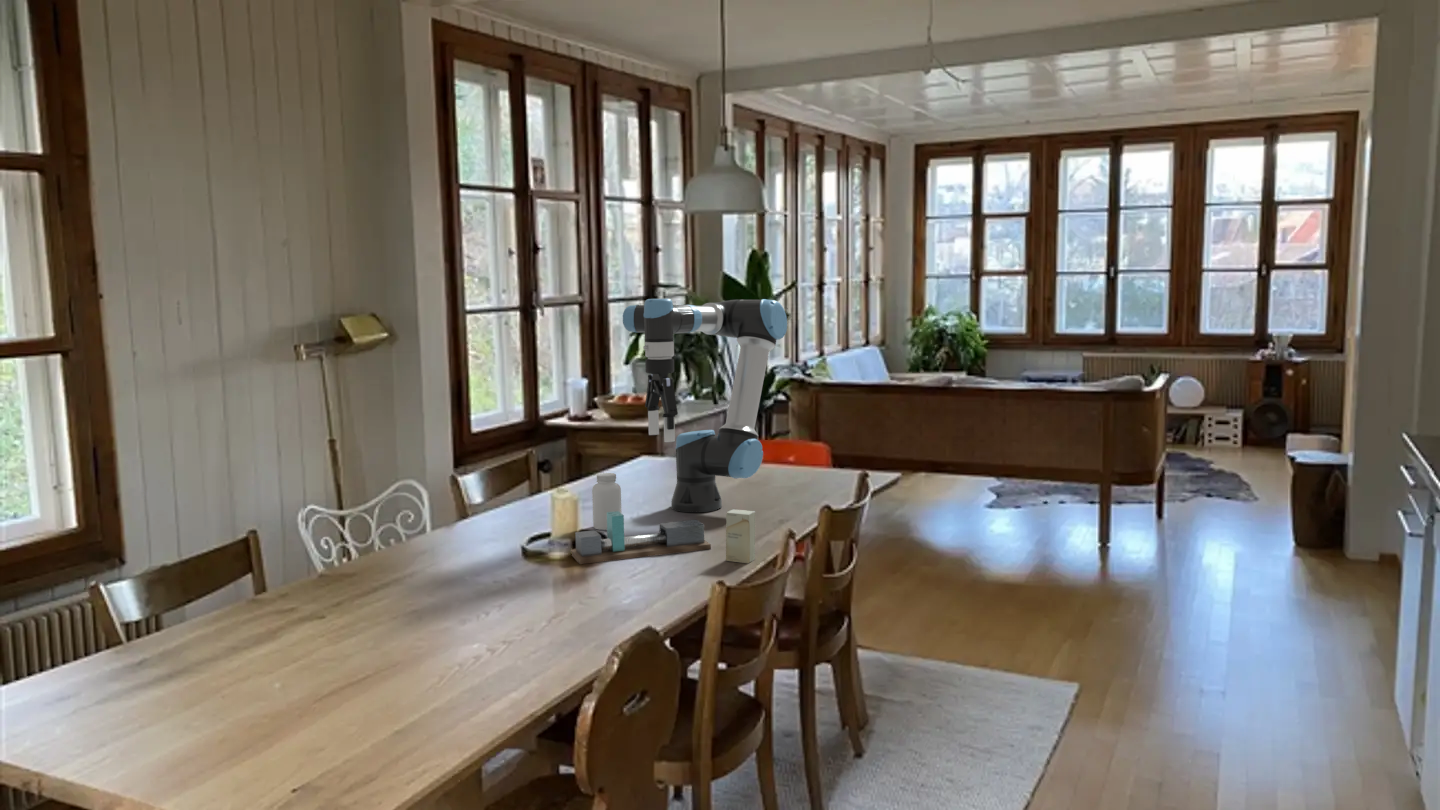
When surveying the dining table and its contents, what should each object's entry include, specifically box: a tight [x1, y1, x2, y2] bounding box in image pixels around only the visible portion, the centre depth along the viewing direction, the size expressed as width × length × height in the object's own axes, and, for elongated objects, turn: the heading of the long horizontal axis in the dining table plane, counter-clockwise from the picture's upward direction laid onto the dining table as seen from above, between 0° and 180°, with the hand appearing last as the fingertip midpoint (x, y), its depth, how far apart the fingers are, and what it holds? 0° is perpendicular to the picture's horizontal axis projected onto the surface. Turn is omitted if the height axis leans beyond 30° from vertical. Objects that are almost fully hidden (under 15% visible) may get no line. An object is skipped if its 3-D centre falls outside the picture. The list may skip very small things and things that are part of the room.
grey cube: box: [575, 529, 602, 557], centre depth 258 cm, size 5×6×5 cm
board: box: [570, 539, 712, 565], centre depth 263 cm, size 34×10×1 cm, turn 111°
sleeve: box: [659, 519, 705, 547], centre depth 267 cm, size 10×6×5 cm, turn 111°
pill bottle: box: [591, 472, 623, 531], centre depth 289 cm, size 8×8×15 cm
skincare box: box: [725, 508, 756, 564], centre depth 253 cm, size 6×4×12 cm
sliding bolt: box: [601, 511, 666, 552], centre depth 261 cm, size 23×5×9 cm, turn 111°
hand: (661, 438), depth 275 cm, fingers open, 13 cm apart
